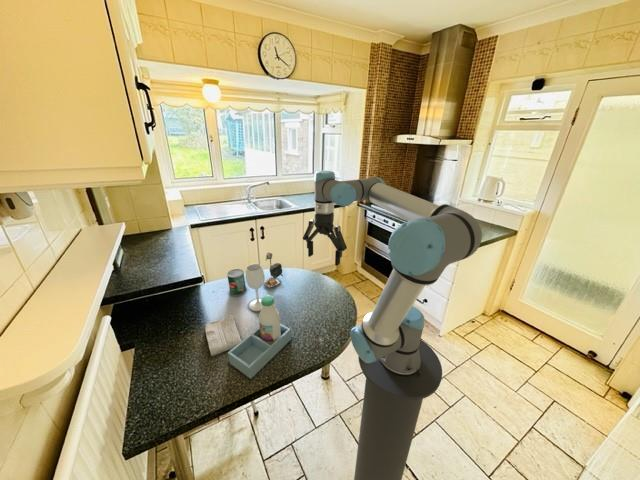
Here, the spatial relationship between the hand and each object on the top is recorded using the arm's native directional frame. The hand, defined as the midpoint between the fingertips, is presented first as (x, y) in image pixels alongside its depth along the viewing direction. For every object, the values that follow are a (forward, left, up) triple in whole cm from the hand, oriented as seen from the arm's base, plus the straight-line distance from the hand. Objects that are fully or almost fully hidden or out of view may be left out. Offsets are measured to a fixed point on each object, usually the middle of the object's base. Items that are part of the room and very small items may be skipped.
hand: (323, 259), depth 109 cm
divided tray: (+6, +33, -26) cm, 43 cm away
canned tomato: (+44, +13, -27) cm, 53 cm away
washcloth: (+24, +37, -27) cm, 52 cm away
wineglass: (+27, +15, -27) cm, 41 cm away
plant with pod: (+34, -3, -27) cm, 43 cm away
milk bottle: (+6, +28, -26) cm, 38 cm away
